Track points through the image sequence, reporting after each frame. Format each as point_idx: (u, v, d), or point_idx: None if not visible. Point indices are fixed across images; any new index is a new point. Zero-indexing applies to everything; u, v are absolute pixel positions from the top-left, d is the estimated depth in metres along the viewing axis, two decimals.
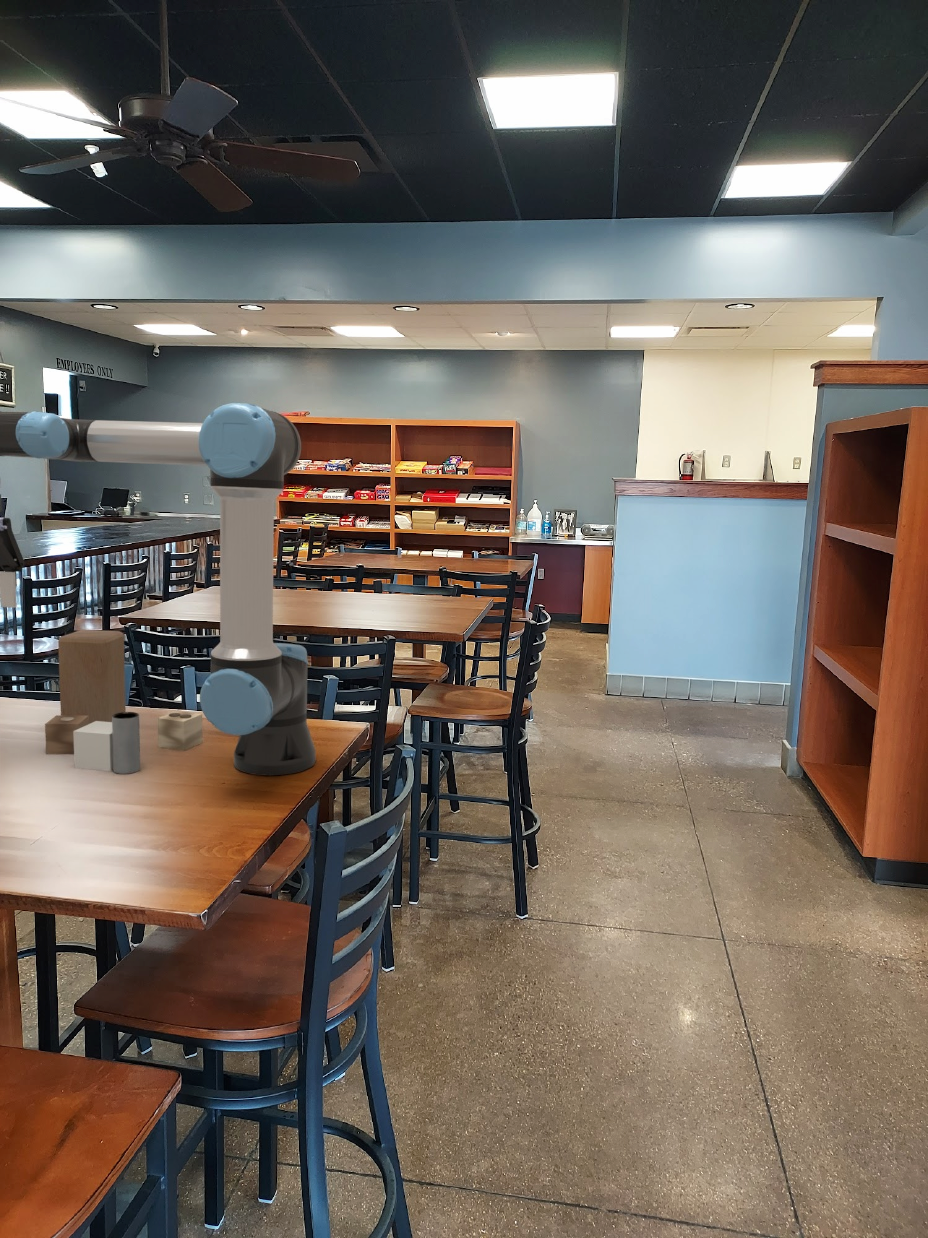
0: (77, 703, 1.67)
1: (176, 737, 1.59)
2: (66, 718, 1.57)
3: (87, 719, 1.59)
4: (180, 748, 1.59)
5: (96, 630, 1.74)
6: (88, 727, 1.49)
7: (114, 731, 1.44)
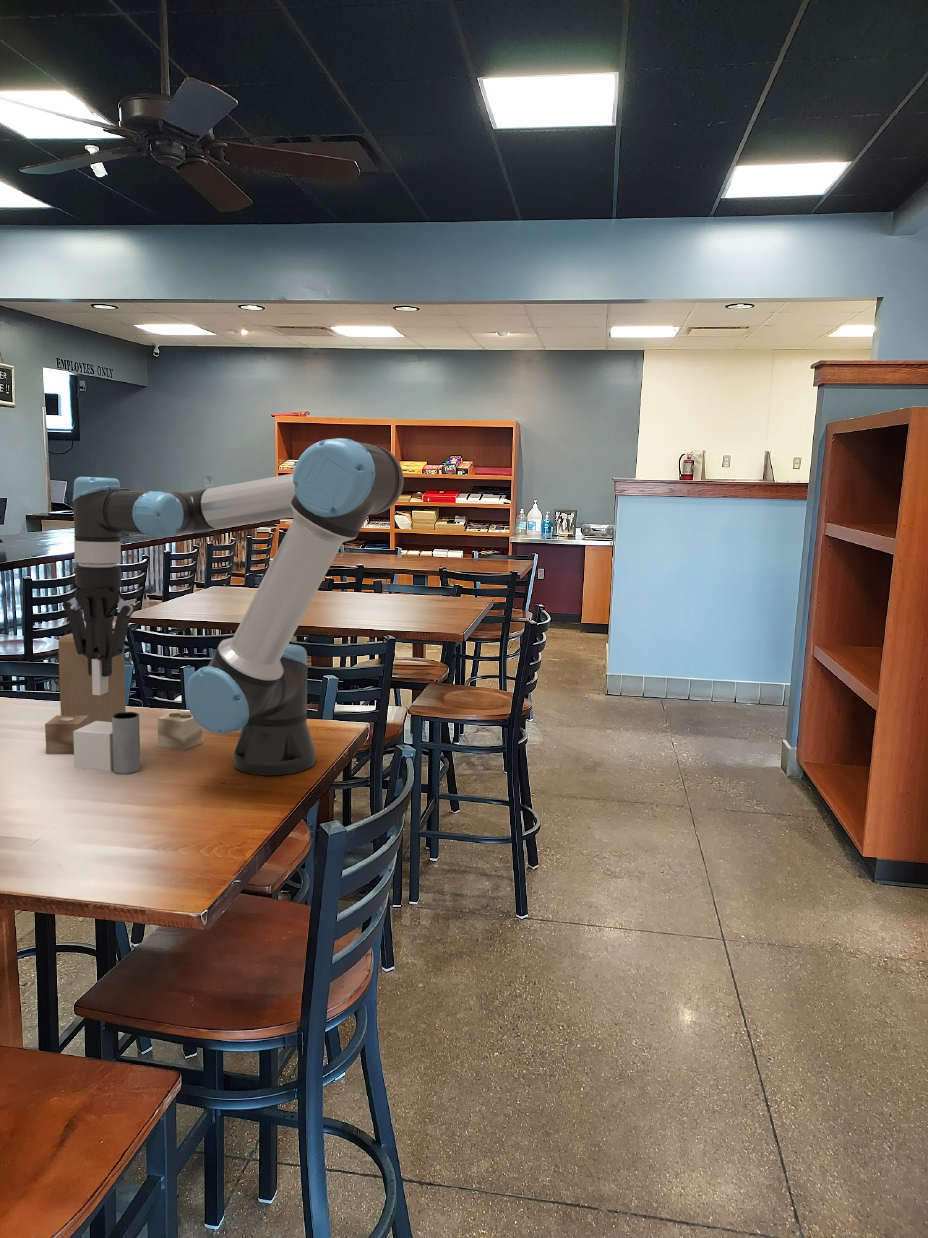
0: (77, 703, 1.67)
1: (176, 737, 1.59)
2: (66, 718, 1.57)
3: (87, 719, 1.59)
4: (180, 748, 1.59)
5: None
6: (88, 727, 1.49)
7: (114, 731, 1.44)
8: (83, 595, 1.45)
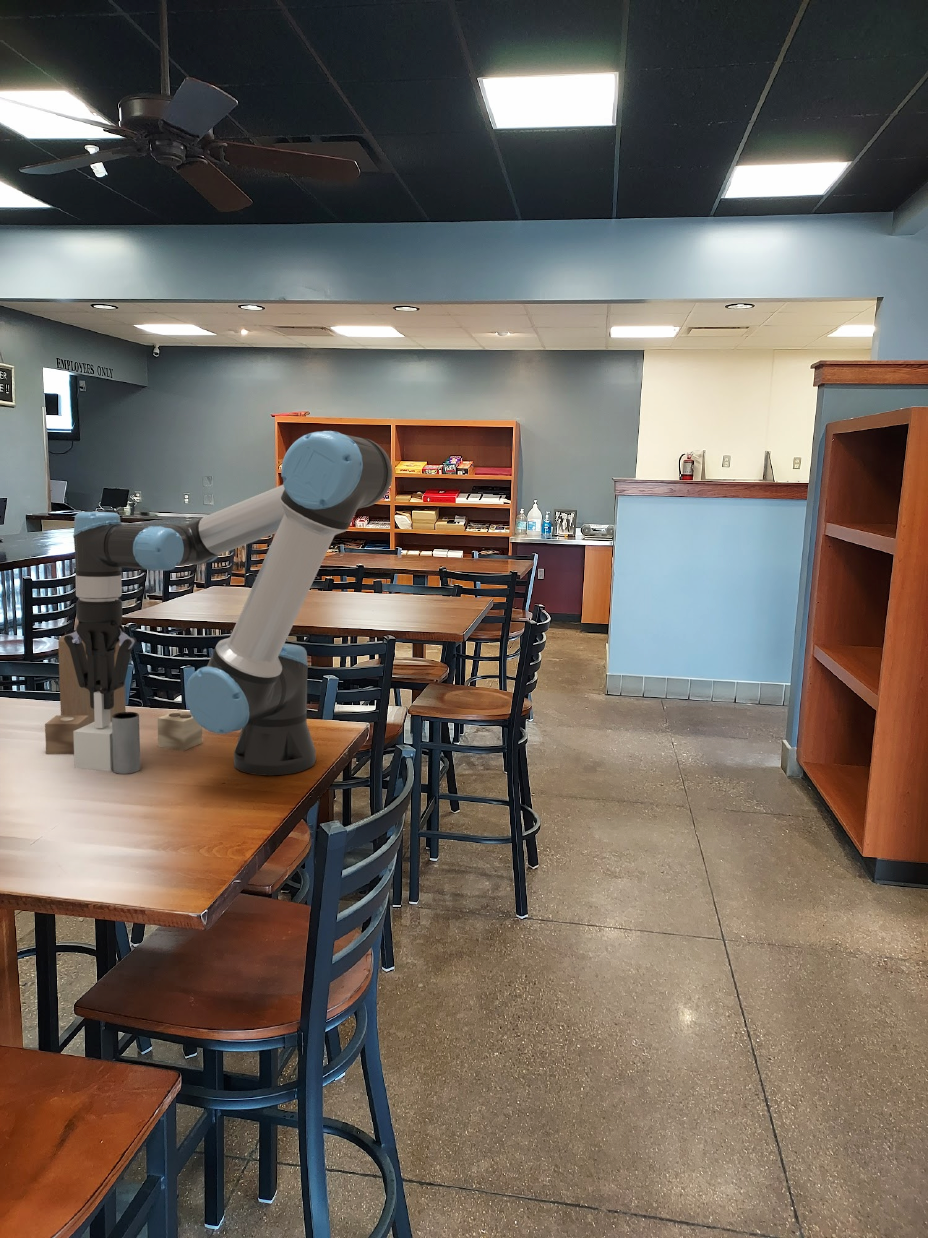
0: (77, 703, 1.67)
1: (176, 737, 1.59)
2: (66, 718, 1.57)
3: (87, 719, 1.59)
4: (180, 748, 1.59)
5: None
6: (88, 727, 1.49)
7: (114, 731, 1.44)
8: (85, 629, 1.46)
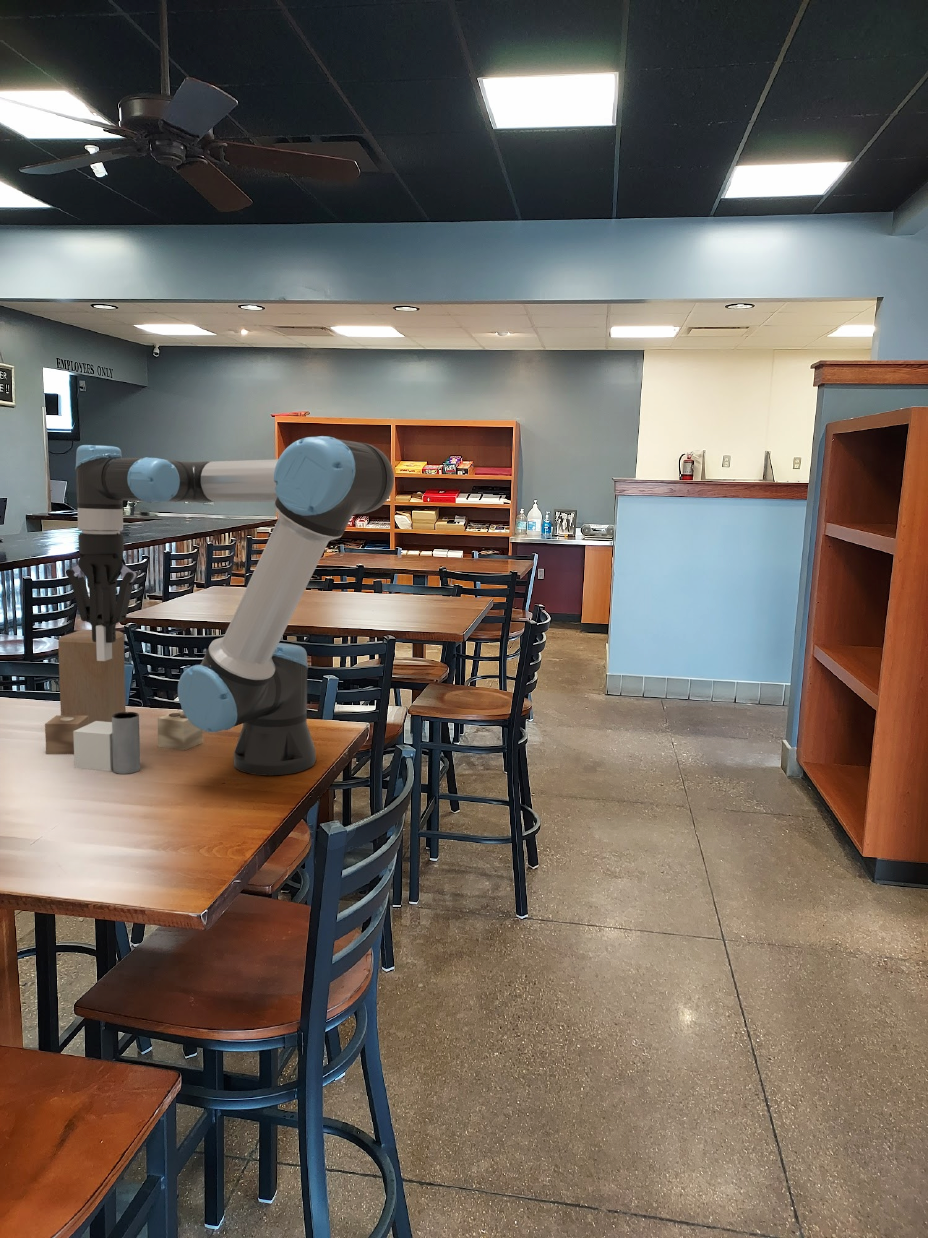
0: (77, 703, 1.67)
1: (176, 737, 1.59)
2: (66, 718, 1.57)
3: (87, 719, 1.59)
4: (180, 748, 1.59)
5: None
6: (88, 727, 1.49)
7: (114, 731, 1.44)
8: (86, 562, 1.47)
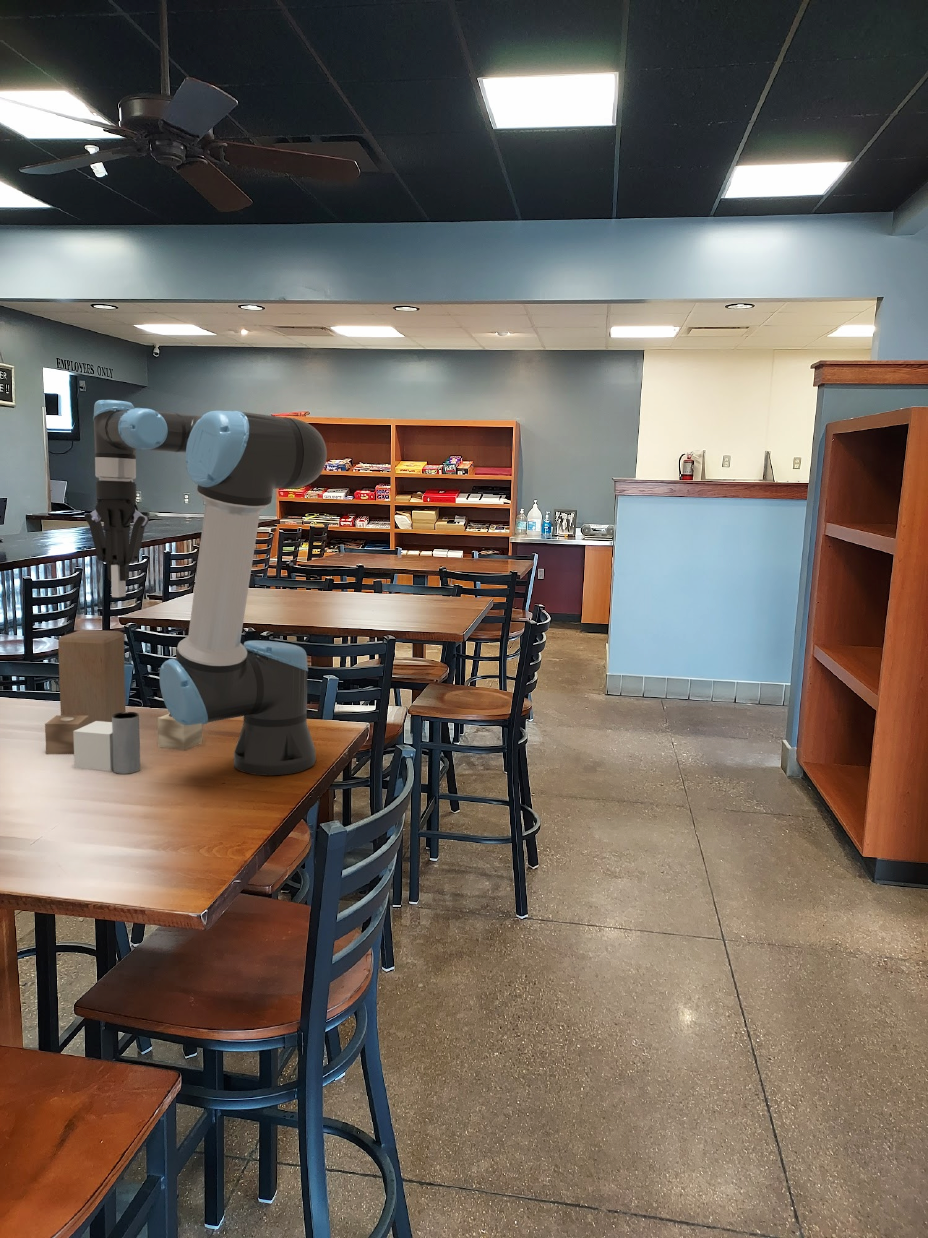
0: (77, 703, 1.67)
1: (176, 737, 1.59)
2: (66, 718, 1.57)
3: (87, 719, 1.59)
4: (180, 748, 1.59)
5: (96, 630, 1.74)
6: (88, 727, 1.49)
7: (114, 731, 1.44)
8: (103, 507, 1.63)
